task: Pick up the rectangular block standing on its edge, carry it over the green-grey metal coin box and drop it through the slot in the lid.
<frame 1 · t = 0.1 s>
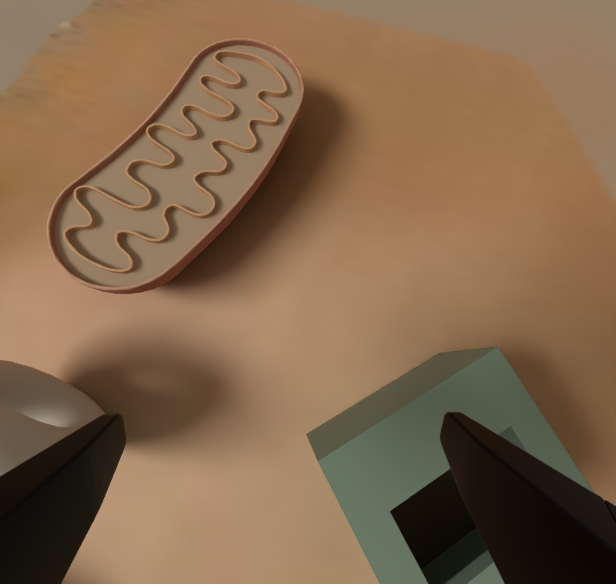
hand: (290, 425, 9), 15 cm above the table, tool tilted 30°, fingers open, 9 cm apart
pink mitochondrion model: (208, 191, 27), on the table
donut: (81, 412, 22), on the table
coin box: (418, 468, 23), on the table
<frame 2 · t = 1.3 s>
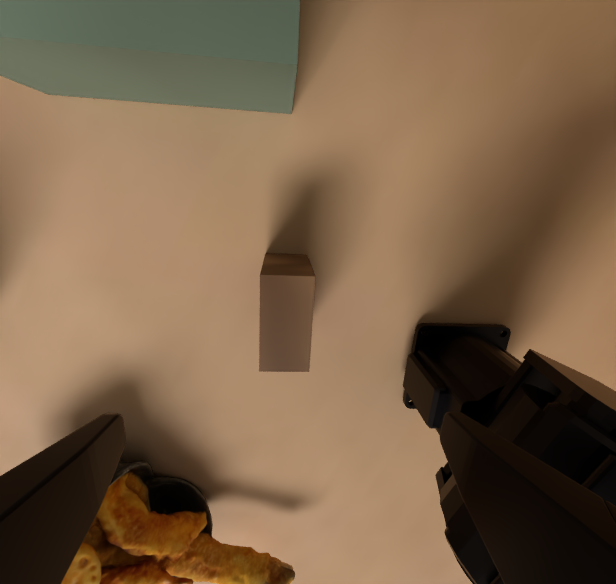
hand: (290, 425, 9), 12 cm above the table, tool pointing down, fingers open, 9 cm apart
rectangular block: (285, 292, 20), on the table
fried shrimp in bowl: (175, 495, 25), on the table
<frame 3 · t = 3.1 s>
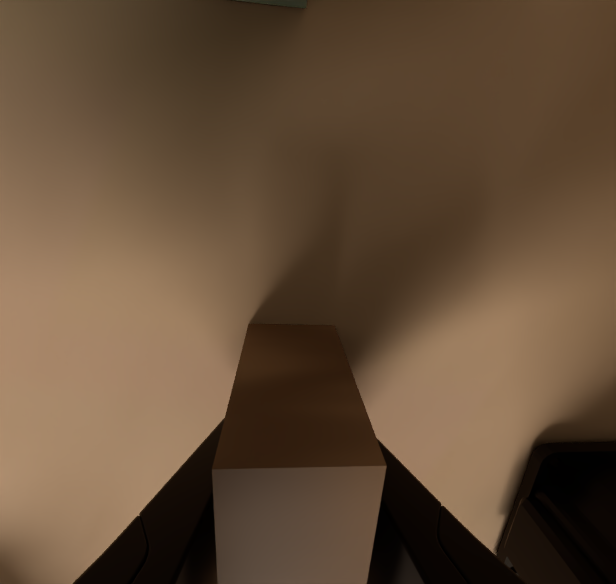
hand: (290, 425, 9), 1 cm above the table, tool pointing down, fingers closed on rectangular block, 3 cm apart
rectangular block: (288, 396, 10), on the table, touching gripper
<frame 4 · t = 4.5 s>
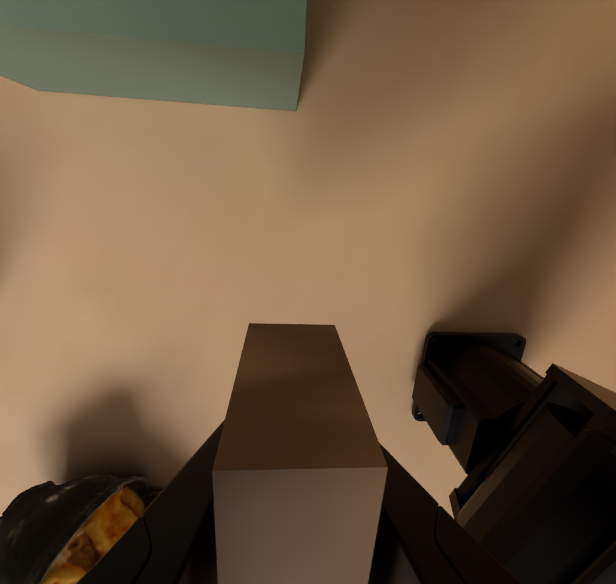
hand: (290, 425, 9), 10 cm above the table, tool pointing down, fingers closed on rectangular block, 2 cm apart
rectangular block: (289, 396, 10), point 9 cm above the table, touching gripper
fried shrimp in bowl: (173, 509, 23), on the table
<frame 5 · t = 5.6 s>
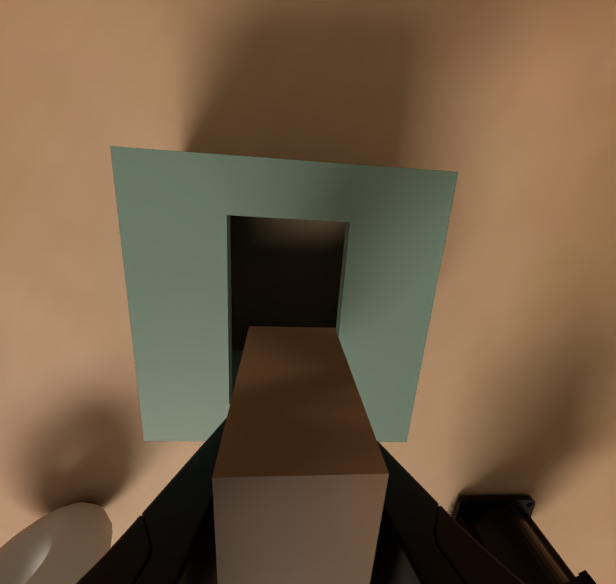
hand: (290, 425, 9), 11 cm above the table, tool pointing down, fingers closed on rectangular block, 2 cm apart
rectangular block: (289, 399, 10), point 10 cm above the table, touching gripper
donut: (78, 507, 24), on the table
coin box: (285, 276, 19), on the table
when the fingers open (9 cm above the table, at t = 7.1 s): rectangular block drops 8 cm, resting in coin box.
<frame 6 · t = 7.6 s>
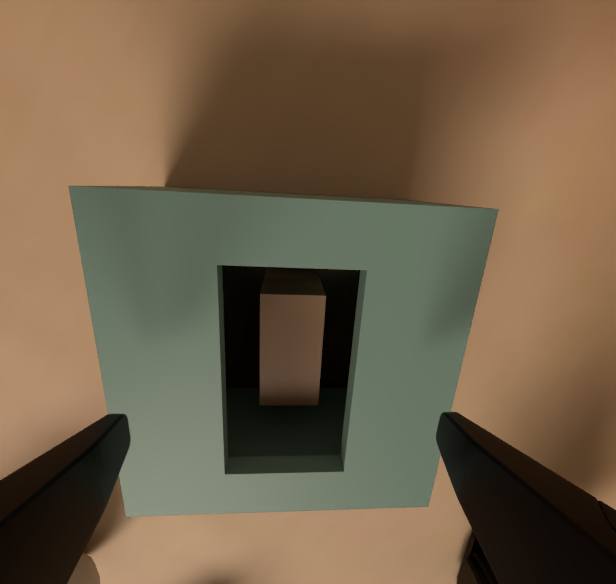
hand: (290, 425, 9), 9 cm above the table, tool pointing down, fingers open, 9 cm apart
rectangular block: (289, 308, 17), resting in coin box
donut: (64, 553, 22), on the table
coin box: (286, 307, 17), on the table
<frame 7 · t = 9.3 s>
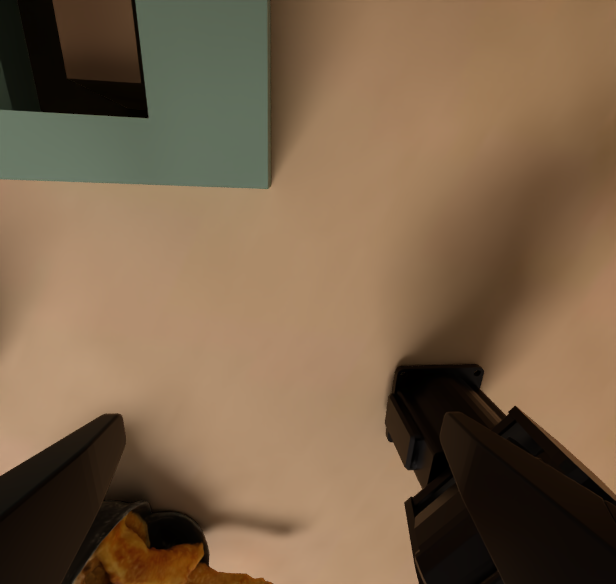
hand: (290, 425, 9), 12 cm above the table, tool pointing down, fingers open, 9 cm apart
rectangular block: (148, 51, 15), resting in coin box
coin box: (144, 48, 15), on the table
fried shrimp in bowl: (173, 526, 26), on the table
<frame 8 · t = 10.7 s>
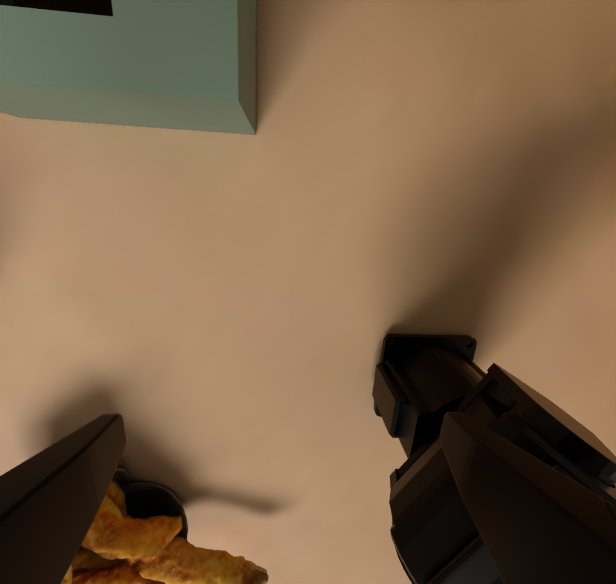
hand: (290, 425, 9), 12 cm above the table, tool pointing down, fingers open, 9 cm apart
fried shrimp in bowl: (153, 499, 25), on the table
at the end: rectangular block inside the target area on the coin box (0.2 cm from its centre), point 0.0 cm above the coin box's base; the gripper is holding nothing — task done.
